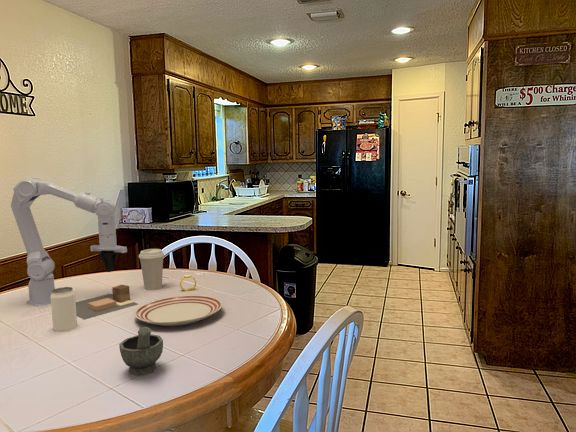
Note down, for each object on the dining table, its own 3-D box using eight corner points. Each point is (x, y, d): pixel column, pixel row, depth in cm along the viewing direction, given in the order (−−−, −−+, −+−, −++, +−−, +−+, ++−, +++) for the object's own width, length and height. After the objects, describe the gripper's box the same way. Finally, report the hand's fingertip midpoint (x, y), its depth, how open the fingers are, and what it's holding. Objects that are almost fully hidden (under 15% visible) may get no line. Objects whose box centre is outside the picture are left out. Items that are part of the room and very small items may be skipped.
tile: (87, 303, 149) (96, 306, 145) (107, 297, 154) (116, 301, 151) (88, 308, 149) (96, 311, 146) (108, 302, 155) (116, 306, 151)
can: (67, 333, 128) (64, 293, 127) (48, 332, 130) (44, 292, 128) (82, 325, 135) (79, 287, 133) (63, 324, 136) (60, 286, 135)
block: (113, 301, 156) (112, 287, 156) (122, 298, 160) (121, 284, 159) (120, 302, 154) (120, 288, 154) (130, 299, 158) (129, 285, 157)
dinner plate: (118, 318, 141) (117, 308, 140) (190, 297, 161) (190, 288, 160) (165, 340, 122) (164, 329, 122) (240, 314, 142) (239, 304, 142)
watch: (181, 292, 167) (179, 277, 166) (180, 290, 170) (178, 275, 169) (197, 290, 169) (195, 275, 168) (196, 288, 172) (194, 273, 171)
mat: (57, 307, 151) (57, 306, 151) (110, 294, 166) (110, 293, 166) (84, 320, 138) (84, 319, 138) (139, 305, 153) (139, 303, 153)
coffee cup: (155, 283, 179) (153, 247, 177) (171, 287, 174) (169, 249, 172) (135, 289, 172) (133, 251, 170) (150, 293, 166) (148, 254, 164)
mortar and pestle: (119, 366, 107) (115, 318, 105) (158, 357, 111) (155, 311, 110) (126, 386, 97) (123, 334, 96) (169, 375, 102) (166, 325, 100)
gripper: (82, 235, 158) (85, 272, 159) (116, 237, 153) (119, 275, 155) (97, 232, 164) (99, 268, 166) (129, 233, 160) (132, 270, 161)
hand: (110, 271), depth 161 cm, fingers closed
